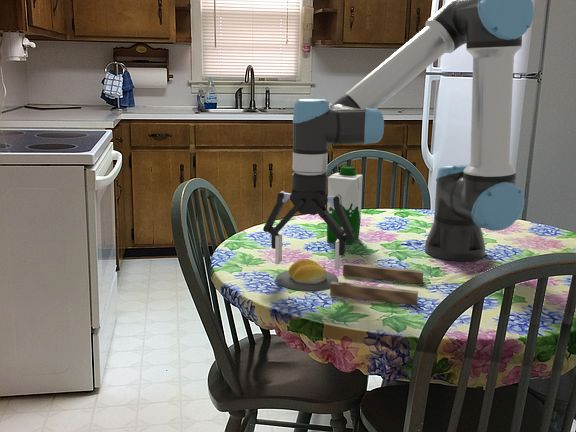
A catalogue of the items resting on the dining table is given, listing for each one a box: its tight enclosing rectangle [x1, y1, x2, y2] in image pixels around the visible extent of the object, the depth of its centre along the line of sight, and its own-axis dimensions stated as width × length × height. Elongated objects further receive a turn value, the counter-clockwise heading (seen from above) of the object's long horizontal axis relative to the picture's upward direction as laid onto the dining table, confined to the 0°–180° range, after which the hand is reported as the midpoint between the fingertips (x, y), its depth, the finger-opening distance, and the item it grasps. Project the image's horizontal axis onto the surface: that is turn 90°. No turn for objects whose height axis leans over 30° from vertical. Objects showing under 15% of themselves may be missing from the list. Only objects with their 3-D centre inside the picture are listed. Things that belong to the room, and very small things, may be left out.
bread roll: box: [288, 258, 328, 284], centre depth 142 cm, size 8×9×4 cm
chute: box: [329, 262, 425, 306], centre depth 138 cm, size 18×15×2 cm
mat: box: [275, 269, 339, 292], centre depth 143 cm, size 14×14×1 cm
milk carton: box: [326, 165, 364, 245], centre depth 173 cm, size 9×9×20 cm
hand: (307, 265), depth 142 cm, fingers open, 13 cm apart
